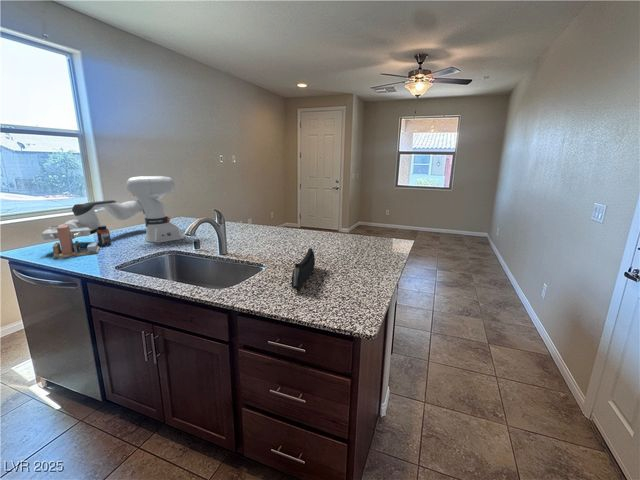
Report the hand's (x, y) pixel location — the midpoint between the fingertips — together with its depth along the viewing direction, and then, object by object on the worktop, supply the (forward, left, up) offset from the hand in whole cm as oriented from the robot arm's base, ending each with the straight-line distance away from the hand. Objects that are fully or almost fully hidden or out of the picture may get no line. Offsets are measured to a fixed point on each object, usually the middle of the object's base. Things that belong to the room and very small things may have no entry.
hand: (64, 236), depth 161 cm
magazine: (-95, +87, -10) cm, 129 cm away
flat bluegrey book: (-11, -1, -9) cm, 14 cm away
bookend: (-6, 0, -9) cm, 11 cm away
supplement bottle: (-15, -15, -10) cm, 23 cm away
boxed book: (0, -1, -9) cm, 9 cm away
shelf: (-4, -1, -10) cm, 11 cm away
